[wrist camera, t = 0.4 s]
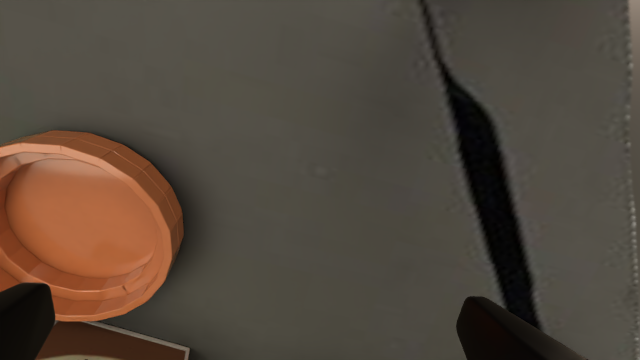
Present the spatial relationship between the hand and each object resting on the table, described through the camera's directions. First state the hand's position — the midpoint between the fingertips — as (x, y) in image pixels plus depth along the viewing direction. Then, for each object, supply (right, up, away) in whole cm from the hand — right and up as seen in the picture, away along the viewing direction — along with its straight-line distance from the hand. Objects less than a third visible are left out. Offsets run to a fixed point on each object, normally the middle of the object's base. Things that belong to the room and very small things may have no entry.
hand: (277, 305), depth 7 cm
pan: (-14, 0, +13) cm, 19 cm away
